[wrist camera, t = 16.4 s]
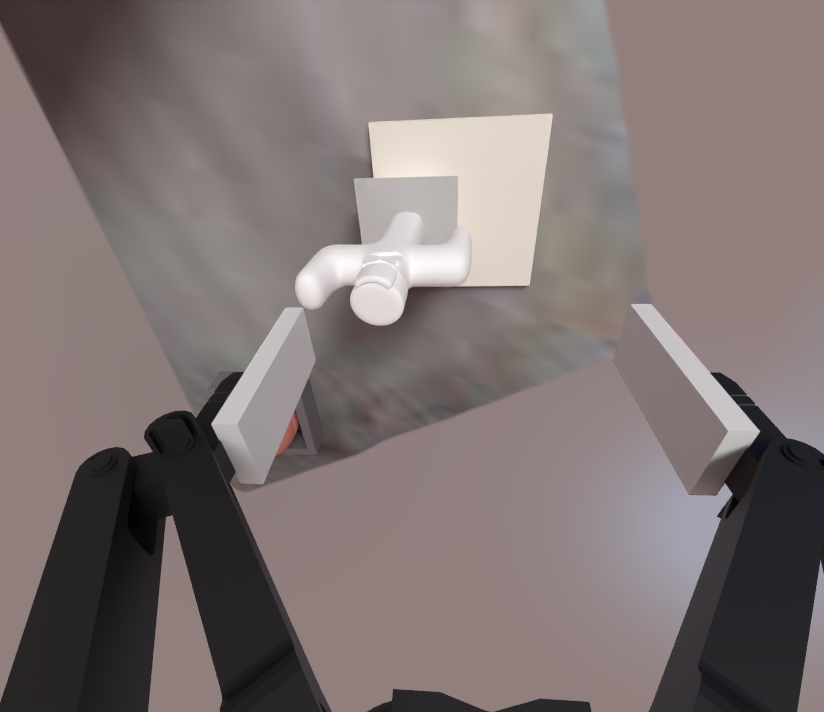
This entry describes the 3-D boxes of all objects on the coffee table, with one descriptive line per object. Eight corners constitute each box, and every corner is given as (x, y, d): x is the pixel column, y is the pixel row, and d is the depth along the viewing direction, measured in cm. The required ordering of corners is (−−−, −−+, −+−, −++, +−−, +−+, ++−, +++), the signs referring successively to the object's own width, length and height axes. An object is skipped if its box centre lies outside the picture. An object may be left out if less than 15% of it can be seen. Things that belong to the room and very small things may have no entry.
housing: (220, 372, 44) (207, 389, 42) (307, 372, 44) (299, 390, 41) (246, 434, 50) (236, 452, 48) (323, 436, 49) (316, 454, 47)
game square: (369, 121, 29) (368, 122, 29) (551, 113, 28) (553, 114, 28) (384, 284, 37) (383, 287, 36) (528, 282, 36) (529, 285, 35)
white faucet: (471, 258, 34) (467, 363, 22) (363, 257, 35) (301, 357, 23) (475, 164, 29) (471, 231, 17) (352, 168, 31) (269, 232, 19)
